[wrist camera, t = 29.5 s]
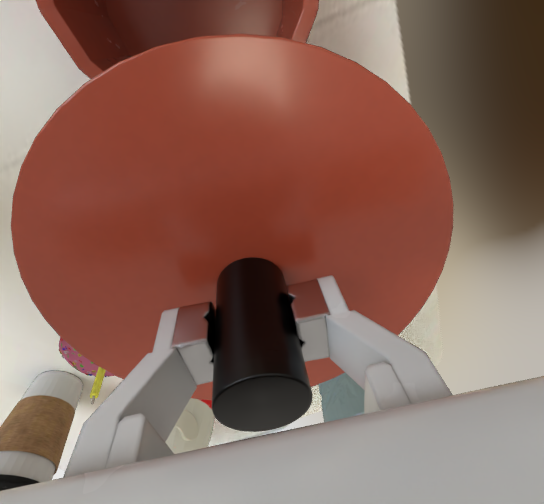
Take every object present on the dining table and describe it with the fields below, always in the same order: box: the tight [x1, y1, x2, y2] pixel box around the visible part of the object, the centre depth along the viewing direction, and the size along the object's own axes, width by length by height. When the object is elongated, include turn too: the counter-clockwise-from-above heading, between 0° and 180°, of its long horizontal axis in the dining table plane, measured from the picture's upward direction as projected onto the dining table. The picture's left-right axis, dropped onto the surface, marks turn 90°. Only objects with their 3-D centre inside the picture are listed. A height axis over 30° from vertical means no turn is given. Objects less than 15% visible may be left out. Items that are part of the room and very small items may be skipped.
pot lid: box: [11, 33, 453, 432], centre depth 10 cm, size 15×15×6 cm
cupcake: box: [59, 337, 114, 404], centre depth 32 cm, size 9×8×12 cm
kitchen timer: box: [165, 398, 215, 454], centre depth 42 cm, size 14×14×15 cm
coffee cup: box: [0, 371, 83, 491], centre depth 36 cm, size 8×8×15 cm
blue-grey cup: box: [318, 373, 365, 422], centre depth 40 cm, size 10×10×12 cm
